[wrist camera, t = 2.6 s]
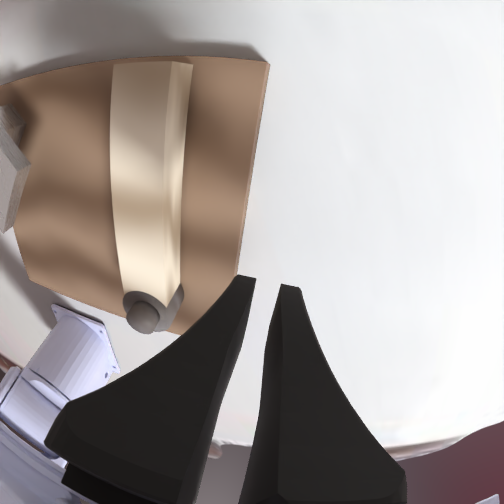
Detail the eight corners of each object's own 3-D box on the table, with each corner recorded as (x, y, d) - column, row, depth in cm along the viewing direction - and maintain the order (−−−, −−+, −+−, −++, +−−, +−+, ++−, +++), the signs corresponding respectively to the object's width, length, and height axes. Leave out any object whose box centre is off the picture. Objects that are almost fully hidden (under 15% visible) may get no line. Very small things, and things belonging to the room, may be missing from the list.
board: (228, 333, 23) (224, 346, 22) (37, 272, 25) (29, 280, 23) (270, 64, 12) (266, 62, 11) (10, 83, 14) (-3, 86, 12)
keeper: (68, 147, 15) (17, 171, 11) (43, 204, 18) (3, 233, 14) (17, 87, 13) (-31, 100, 9) (-2, 145, 15) (-42, 165, 11)
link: (184, 312, 20) (167, 348, 17) (141, 300, 20) (120, 332, 18) (198, 64, 11) (168, 59, 8) (136, 65, 12) (95, 65, 9)
